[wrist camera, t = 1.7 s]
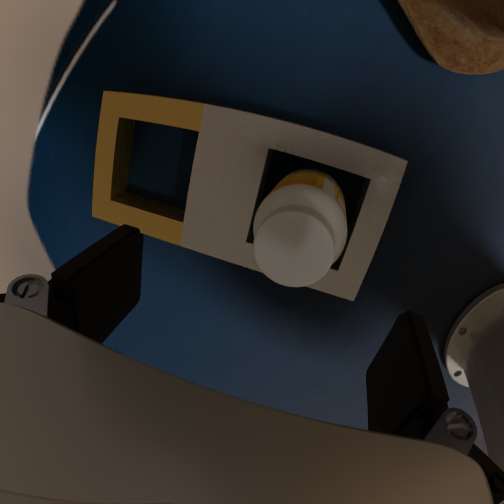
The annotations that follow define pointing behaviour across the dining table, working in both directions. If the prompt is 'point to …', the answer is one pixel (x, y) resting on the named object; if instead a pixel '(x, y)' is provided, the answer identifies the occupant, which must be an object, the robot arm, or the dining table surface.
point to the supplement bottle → (300, 228)
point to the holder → (236, 180)
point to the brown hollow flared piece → (460, 33)
